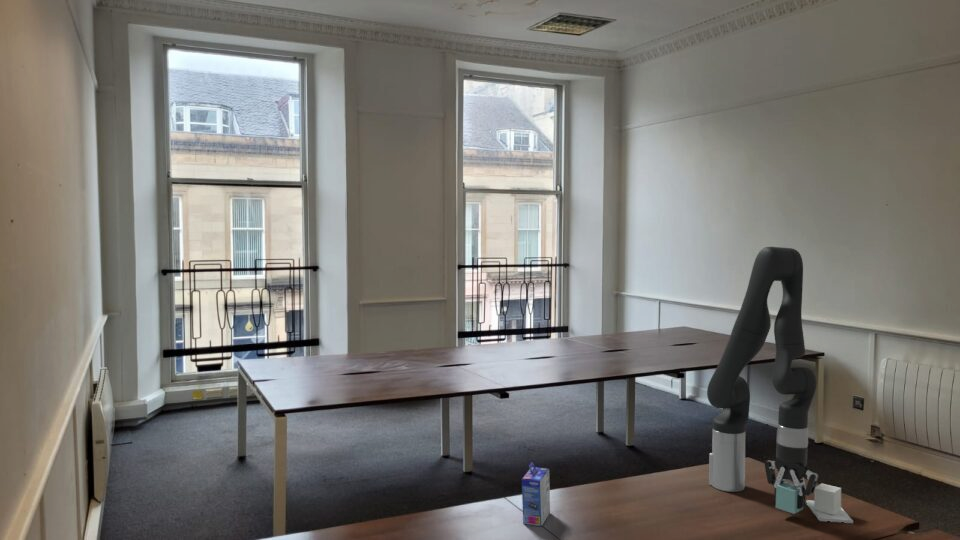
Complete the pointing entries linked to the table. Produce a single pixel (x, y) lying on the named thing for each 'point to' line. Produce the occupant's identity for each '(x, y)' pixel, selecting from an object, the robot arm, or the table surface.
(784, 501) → the teal block
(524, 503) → the ink cartridge box
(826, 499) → the white block
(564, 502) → the table surface
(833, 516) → the external hard drive
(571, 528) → the table surface
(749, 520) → the table surface
